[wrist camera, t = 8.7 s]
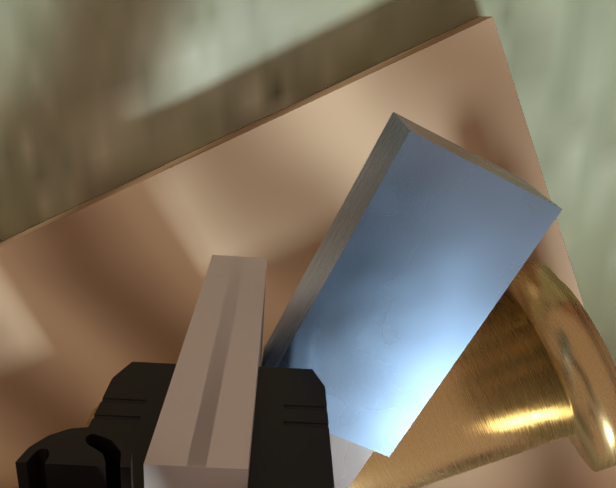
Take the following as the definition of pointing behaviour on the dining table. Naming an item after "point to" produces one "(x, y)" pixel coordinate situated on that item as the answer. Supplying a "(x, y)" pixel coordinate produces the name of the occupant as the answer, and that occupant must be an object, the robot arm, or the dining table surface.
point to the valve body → (511, 391)
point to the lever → (404, 284)
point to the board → (246, 241)
